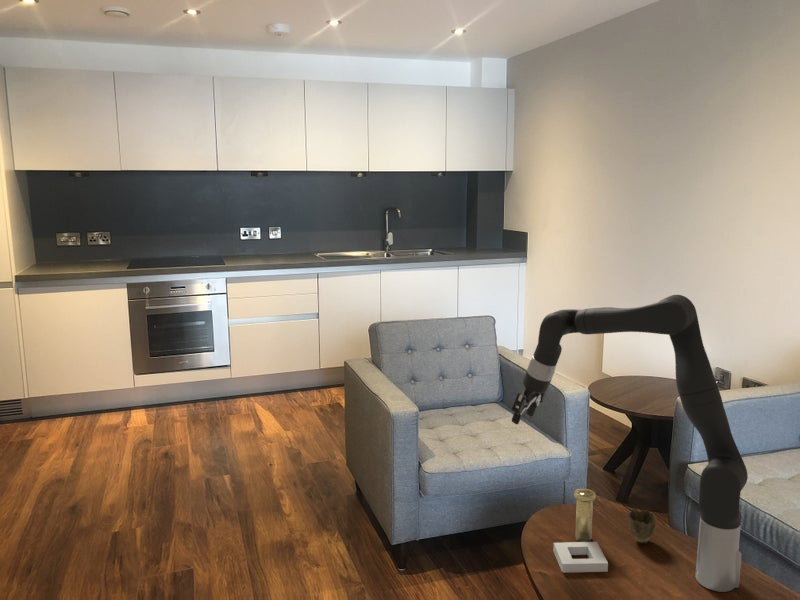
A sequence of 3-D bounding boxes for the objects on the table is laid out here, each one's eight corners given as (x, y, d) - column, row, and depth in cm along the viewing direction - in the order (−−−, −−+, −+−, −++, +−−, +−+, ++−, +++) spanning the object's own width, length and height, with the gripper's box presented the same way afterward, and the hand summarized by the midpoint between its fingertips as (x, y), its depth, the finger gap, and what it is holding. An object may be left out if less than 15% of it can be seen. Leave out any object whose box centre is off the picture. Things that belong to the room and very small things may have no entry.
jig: (596, 549, 184) (596, 541, 184) (607, 571, 175) (608, 563, 174) (553, 550, 184) (553, 542, 184) (562, 572, 175) (562, 564, 174)
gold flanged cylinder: (590, 532, 193) (592, 488, 190) (596, 543, 187) (598, 498, 185) (570, 532, 193) (572, 488, 190) (575, 544, 187) (577, 498, 185)
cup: (651, 534, 192) (652, 508, 190) (658, 548, 184) (660, 522, 183) (624, 533, 192) (626, 508, 191) (631, 547, 185) (632, 521, 184)
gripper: (538, 385, 185) (519, 432, 192) (562, 374, 196) (544, 419, 202) (516, 372, 189) (499, 418, 196) (541, 361, 200) (524, 406, 206)
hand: (522, 418), depth 199 cm, fingers open, 8 cm apart
